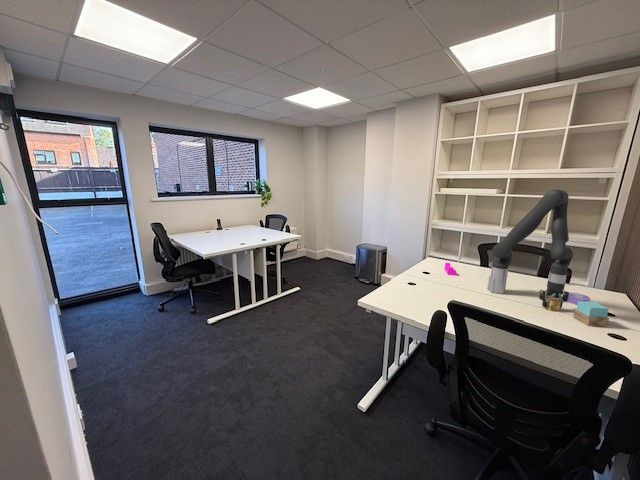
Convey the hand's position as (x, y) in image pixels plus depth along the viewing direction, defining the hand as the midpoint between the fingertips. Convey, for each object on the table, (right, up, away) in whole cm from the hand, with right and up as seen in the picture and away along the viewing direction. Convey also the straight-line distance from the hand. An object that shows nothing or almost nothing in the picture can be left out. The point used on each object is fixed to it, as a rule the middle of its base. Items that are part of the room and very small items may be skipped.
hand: (551, 307), depth 154 cm
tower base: (+7, -4, -15) cm, 17 cm away
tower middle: (+7, +1, -15) cm, 17 cm away
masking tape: (+25, +1, +11) cm, 28 cm away
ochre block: (0, -1, 0) cm, 1 cm away
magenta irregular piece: (-29, +11, +63) cm, 70 cm away
